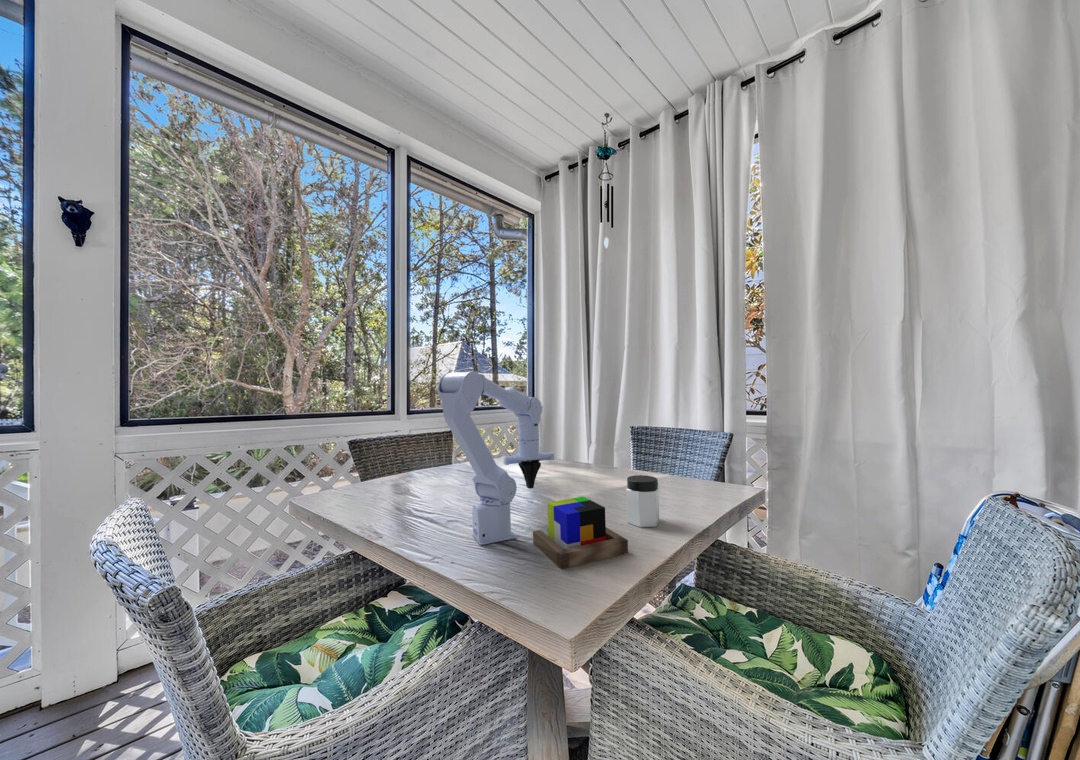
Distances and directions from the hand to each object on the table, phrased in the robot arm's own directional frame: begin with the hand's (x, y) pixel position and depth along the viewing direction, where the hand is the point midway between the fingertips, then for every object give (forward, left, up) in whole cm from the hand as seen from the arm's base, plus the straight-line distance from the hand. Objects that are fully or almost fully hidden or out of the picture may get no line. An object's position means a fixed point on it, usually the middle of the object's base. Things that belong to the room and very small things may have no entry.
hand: (530, 487), depth 116 cm
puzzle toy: (+3, -21, -10) cm, 24 cm away
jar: (+27, -15, -10) cm, 33 cm away
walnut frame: (+3, -21, -9) cm, 24 cm away
